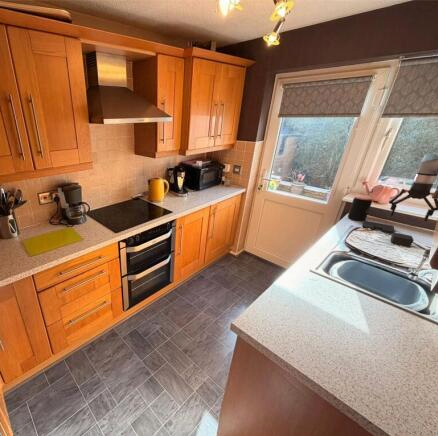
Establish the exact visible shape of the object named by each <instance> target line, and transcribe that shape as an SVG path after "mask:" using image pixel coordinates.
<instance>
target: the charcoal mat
mask: <svg viewBox="0 0 438 436" xmlns="http://www.w3.org/2000/svg"><path fill="white" fill-rule="evenodd" d="M362 227H363V228H370V229H373V230H376V231H380V232H381V233H383V232H384V234H388V235H392V234H393V232H395V233H396V229H395V226H394V225H391V224H387V223H381V222H375V221H370V220H363V221H362V226H361V228H362ZM363 228H362V229H363Z"/></svg>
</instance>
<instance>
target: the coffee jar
mask: <svg viewBox="0 0 438 436" xmlns="http://www.w3.org/2000/svg"><path fill="white" fill-rule="evenodd" d="M373 200H374V197H372V196H368V195H360V194H355V195H354V196H353V198H352V202H351V205H350V209H349V211H348V215H347V218H348V219H349V220H351V221H354V222H363V220H365V221H367V217H368V214H369V211H370V209H371V206H372V203H373Z"/></svg>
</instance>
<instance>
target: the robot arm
mask: <svg viewBox="0 0 438 436" xmlns="http://www.w3.org/2000/svg"><path fill="white" fill-rule="evenodd" d="M437 177H438V153H426V154H424V156H423V158H422V160H421V161H420V164H419V166H418V170H417V172H416V174H415V177H414V179H413V181H412V183H411V186H410V188H409V189H405V188H402V189H401V190H400V191H399V192H398V193H397V194H396V195H395V196H393V197H392V198H391V199H389V200H388V204H389V205H391V206H390V207H389V208H390V211H391V212H390V217H393V216H394V214H395V211H396V209H397V207H398V206H397V205H398V204H400V203H402V202H404V201H406V200H408V199H413V200H414V199H417V200H424V202H425V203H426V204H427V206H428V207H429V208H427V209H428V210H427V211H426V213H425V215H424V218H423V221H424V222H427V221H428V219H429V217H432V216H433V215H434V214H435V213H434V212H435V211H438V199H433V202H434V205H435V207H434V206H433V205H432V203H431V202H430V200H429V199H428V198H427V197H428V196H431V197H432V198H433V195H434V193H435V192H436V191H435V192H431V190H432V188H433V186H434V183H435V181H436V179H437ZM406 193H407V194H406ZM403 194H406V195H405V196H403ZM401 196H403V197H401ZM400 197H401V198H400Z"/></svg>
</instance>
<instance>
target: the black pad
mask: <svg viewBox="0 0 438 436" xmlns="http://www.w3.org/2000/svg"><path fill="white" fill-rule="evenodd" d="M413 242H414V238H413V235H409V234H404V233H399V232H396V231H395V232H393V234H391V237H390V244H391V243H393V244H392V245H395V244H397V246H400V245H401V246H400V247H405V248H411V247H412V245H413Z"/></svg>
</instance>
